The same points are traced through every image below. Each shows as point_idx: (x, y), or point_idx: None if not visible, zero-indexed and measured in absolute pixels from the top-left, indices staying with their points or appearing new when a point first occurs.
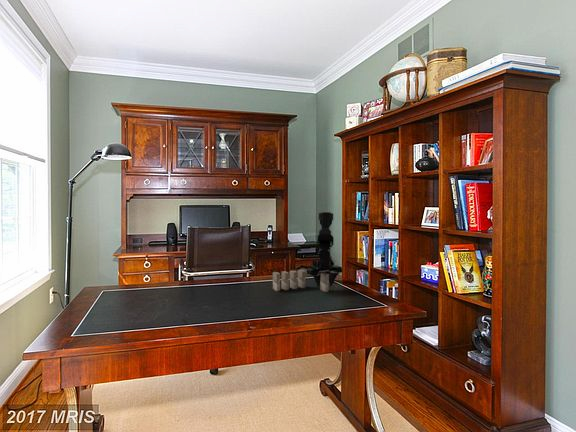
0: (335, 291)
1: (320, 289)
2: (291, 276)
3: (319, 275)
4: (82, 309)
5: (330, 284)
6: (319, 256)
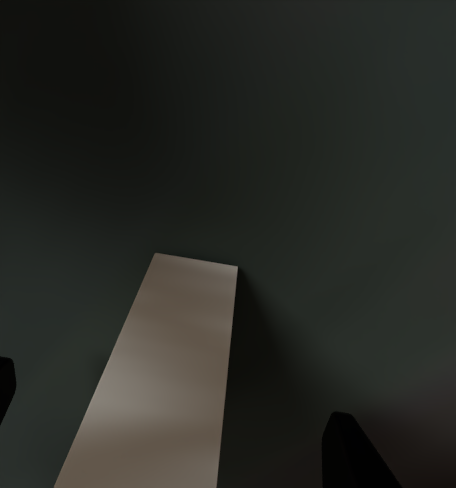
0: None
1: (153, 256)
2: None
3: None
4: None
5: (328, 463)
6: None
